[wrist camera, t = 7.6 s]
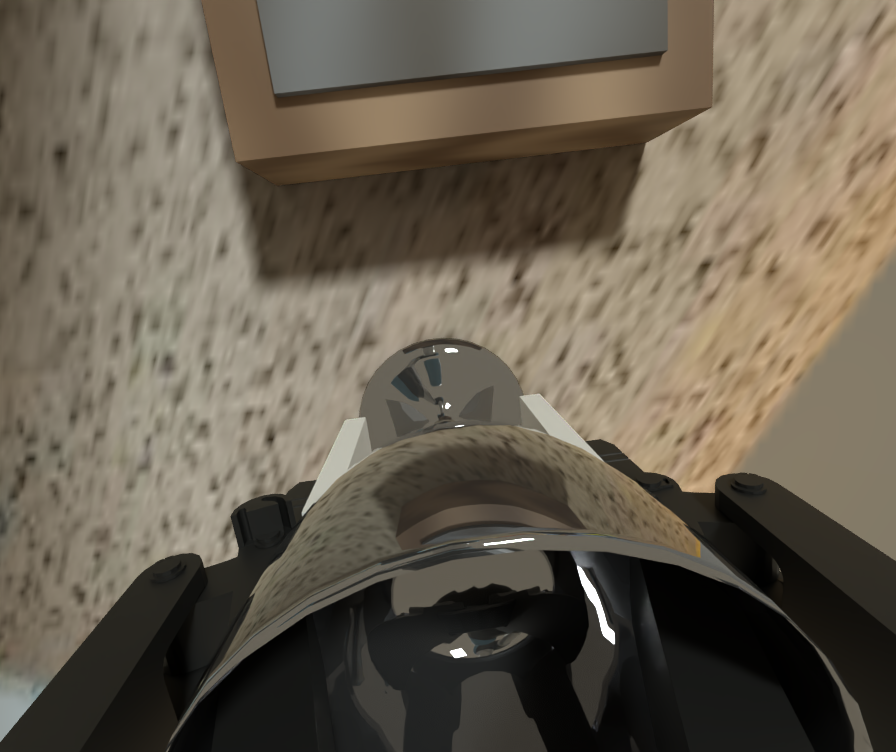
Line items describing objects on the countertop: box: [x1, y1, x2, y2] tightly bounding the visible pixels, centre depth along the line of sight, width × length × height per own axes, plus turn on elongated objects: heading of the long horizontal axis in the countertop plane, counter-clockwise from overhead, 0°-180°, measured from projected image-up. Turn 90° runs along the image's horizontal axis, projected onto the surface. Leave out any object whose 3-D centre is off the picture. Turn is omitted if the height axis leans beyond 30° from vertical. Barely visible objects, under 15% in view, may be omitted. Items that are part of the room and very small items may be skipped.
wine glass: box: [165, 338, 873, 752], centre depth 12 cm, size 8×8×15 cm
